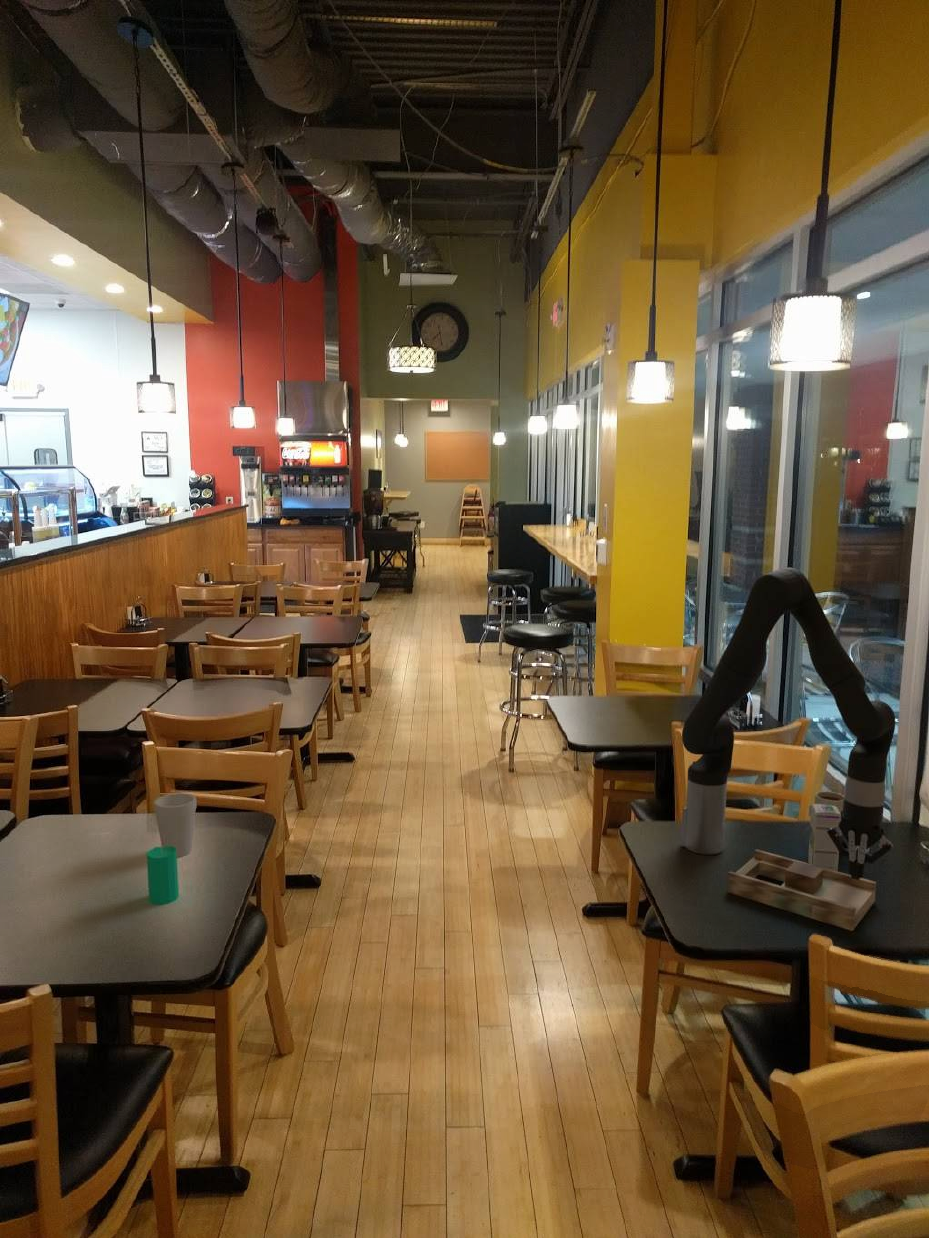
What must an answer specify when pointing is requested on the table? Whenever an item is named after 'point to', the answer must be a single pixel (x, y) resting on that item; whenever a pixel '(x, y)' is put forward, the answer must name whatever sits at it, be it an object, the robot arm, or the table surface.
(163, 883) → the candle
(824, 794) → the character mug
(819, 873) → the walnut block
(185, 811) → the foam cup
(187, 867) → the table surface
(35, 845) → the table surface
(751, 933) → the table surface
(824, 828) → the syrup box
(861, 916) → the tray
